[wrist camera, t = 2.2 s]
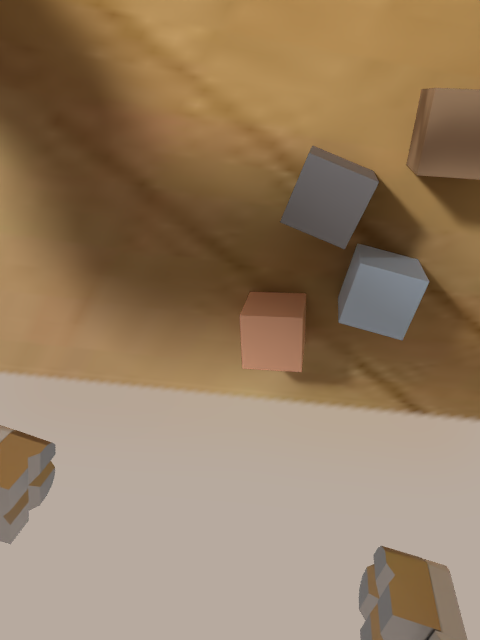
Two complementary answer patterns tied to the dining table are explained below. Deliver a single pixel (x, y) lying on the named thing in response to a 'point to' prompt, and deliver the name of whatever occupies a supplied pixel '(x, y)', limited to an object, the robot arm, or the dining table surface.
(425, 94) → the walnut cube
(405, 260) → the dusty blue cube
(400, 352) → the dining table surface
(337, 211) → the charcoal cube
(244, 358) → the terracotta cube
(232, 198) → the dining table surface
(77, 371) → the dining table surface
